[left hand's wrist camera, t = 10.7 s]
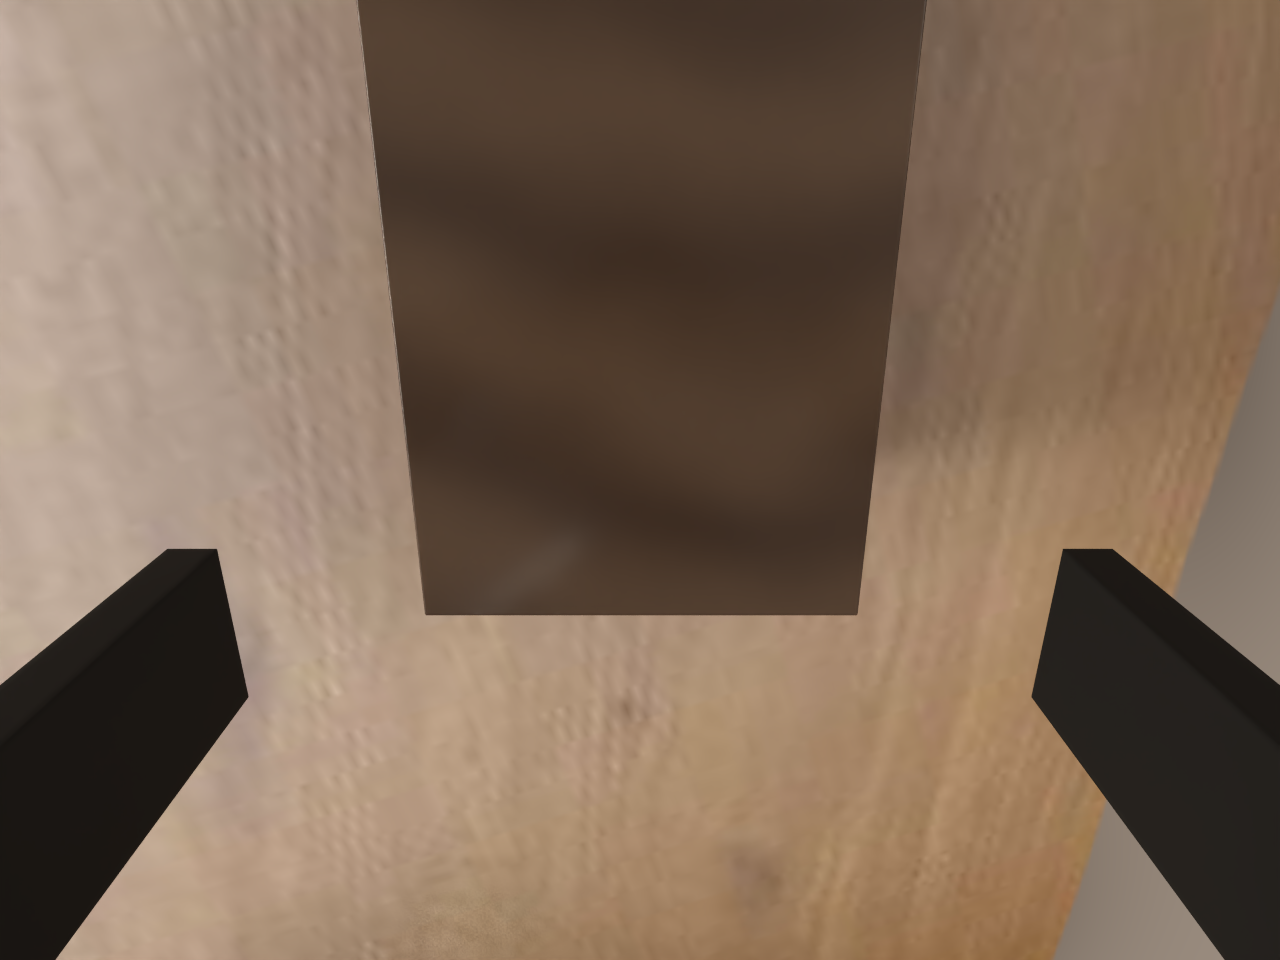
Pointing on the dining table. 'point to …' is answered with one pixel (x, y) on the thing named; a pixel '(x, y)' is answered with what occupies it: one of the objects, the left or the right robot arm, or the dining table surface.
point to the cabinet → (641, 293)
